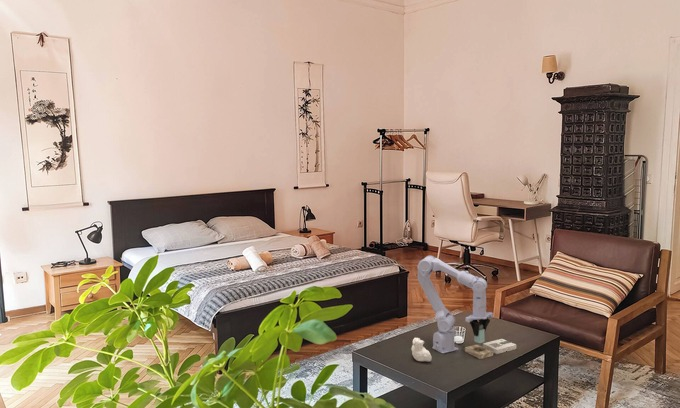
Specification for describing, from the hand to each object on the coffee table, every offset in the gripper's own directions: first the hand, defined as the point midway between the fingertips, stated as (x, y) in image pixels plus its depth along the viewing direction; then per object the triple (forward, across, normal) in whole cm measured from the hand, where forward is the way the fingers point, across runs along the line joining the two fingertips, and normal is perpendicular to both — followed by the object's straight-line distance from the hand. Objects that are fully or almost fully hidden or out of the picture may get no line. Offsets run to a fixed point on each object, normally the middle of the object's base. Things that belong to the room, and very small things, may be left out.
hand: (479, 334), depth 237 cm
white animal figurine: (+9, -27, +8) cm, 30 cm away
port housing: (+9, +12, 0) cm, 15 cm away
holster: (+9, 0, 0) cm, 9 cm away
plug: (+3, 0, 0) cm, 3 cm away
